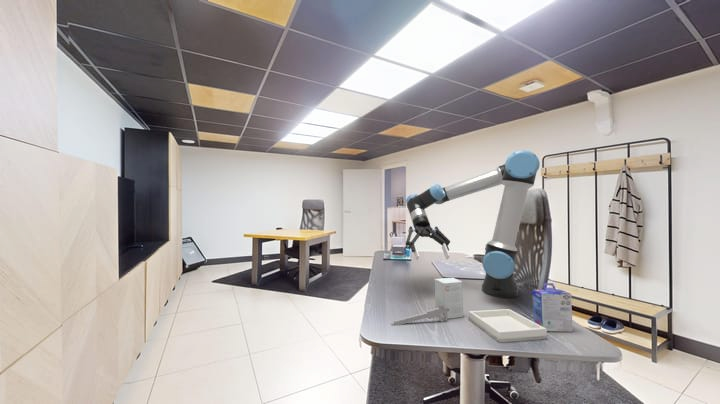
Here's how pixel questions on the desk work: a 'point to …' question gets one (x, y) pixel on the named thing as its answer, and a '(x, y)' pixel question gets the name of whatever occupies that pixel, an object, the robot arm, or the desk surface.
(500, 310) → the tray
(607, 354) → the desk surface
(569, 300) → the ink cartridge box
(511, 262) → the robot arm
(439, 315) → the caliper
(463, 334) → the desk surface
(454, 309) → the small box
